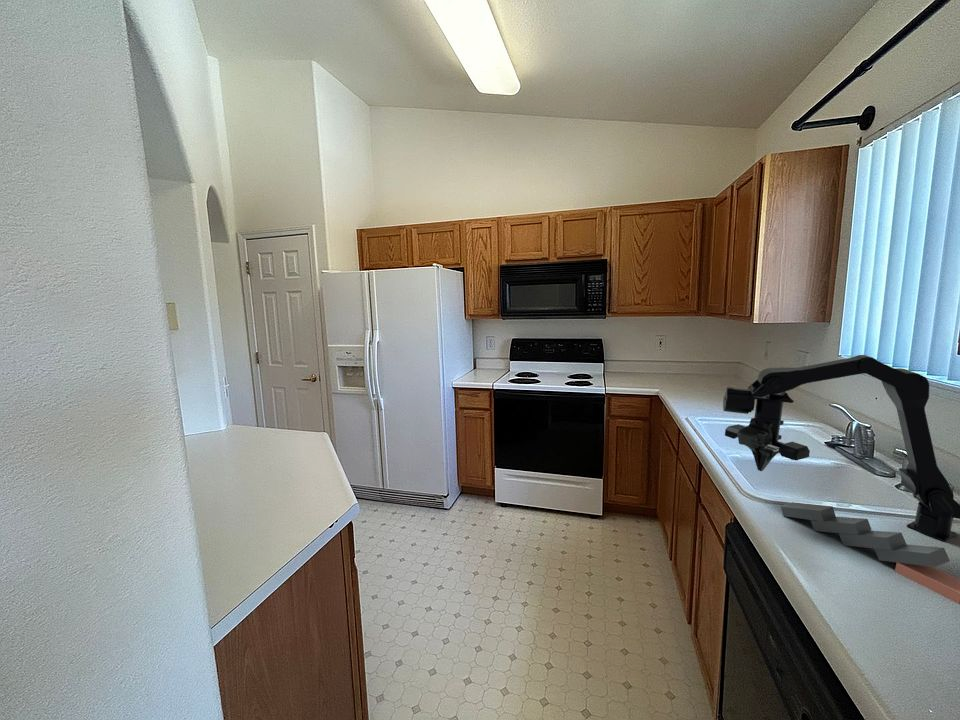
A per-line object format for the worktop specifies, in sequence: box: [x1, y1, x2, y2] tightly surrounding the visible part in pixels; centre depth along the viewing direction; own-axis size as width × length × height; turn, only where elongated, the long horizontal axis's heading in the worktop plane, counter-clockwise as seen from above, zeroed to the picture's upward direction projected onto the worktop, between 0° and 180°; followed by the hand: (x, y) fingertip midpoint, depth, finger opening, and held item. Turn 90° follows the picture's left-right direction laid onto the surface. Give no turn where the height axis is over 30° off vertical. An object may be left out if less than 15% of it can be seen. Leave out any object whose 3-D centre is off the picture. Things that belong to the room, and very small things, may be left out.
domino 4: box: [873, 544, 951, 568], centre depth 81 cm, size 2×5×9 cm
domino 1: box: [780, 502, 837, 522], centre depth 98 cm, size 2×5×9 cm
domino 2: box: [810, 516, 873, 535], centre depth 92 cm, size 2×5×9 cm
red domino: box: [894, 562, 960, 605], centre depth 78 cm, size 2×5×9 cm
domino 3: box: [838, 530, 908, 550], centre depth 87 cm, size 2×5×9 cm
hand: (760, 470), depth 108 cm, fingers closed
